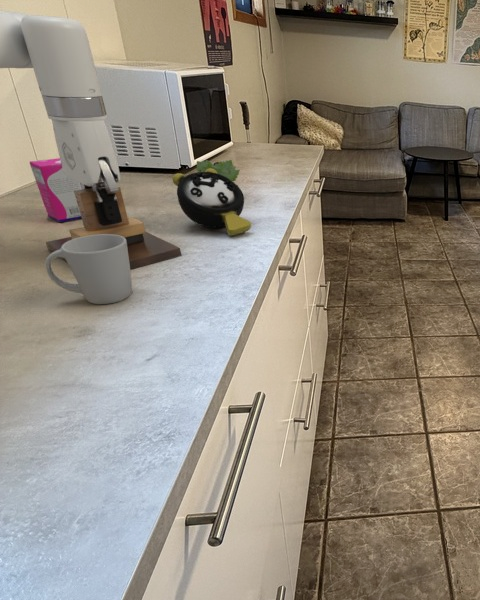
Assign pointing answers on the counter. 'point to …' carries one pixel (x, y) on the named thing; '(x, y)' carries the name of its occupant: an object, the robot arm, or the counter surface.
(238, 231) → the alarm clock
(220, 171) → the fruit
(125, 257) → the cup
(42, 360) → the counter surface
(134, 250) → the cutting board
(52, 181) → the supplement box
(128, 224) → the brush
